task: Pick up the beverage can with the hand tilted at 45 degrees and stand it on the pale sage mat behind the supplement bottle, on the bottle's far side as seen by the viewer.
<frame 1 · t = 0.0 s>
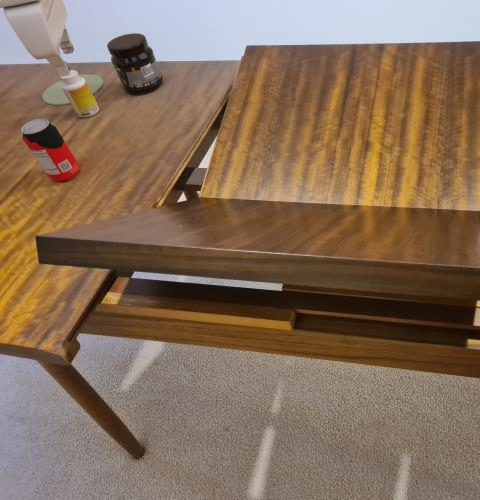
hand: (67, 62, 80), 23 cm above the table, tool pointing down, fingers open, 8 cm apart
supplement container: (145, 86, 122), on the table
supplement bottle: (89, 113, 115), on the table
beverage can: (67, 175, 98), on the table
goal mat: (73, 89, 124), on the table
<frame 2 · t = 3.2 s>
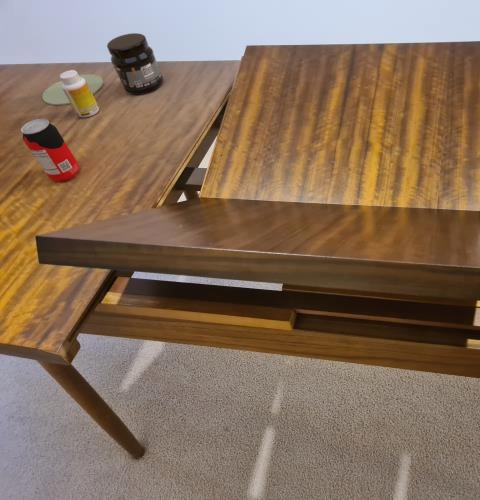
nothing on the table moved.
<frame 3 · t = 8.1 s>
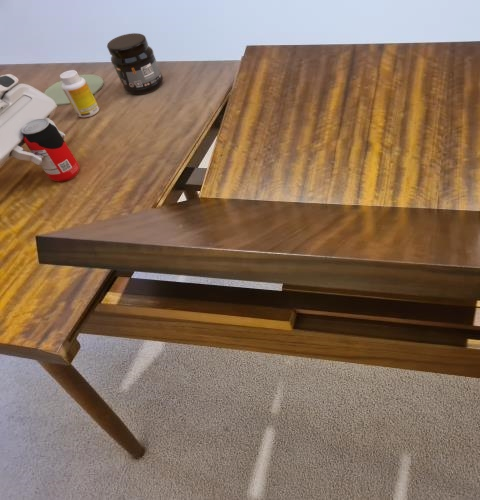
hand: (53, 149, 93), 6 cm above the table, tool tilted 45°, fingers closed on beverage can, 6 cm apart
beverage can: (67, 175, 98), on the table, touching gripper
everything else where it was.
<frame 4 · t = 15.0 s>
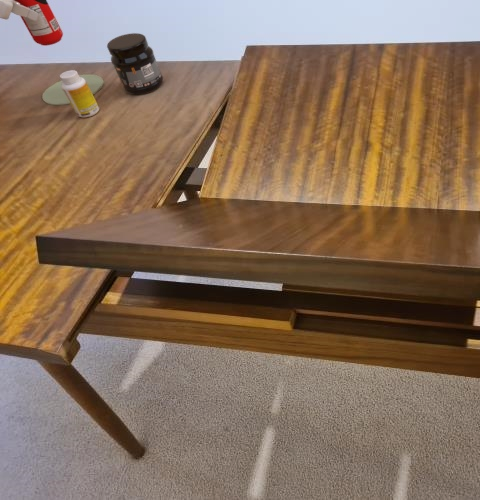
hand: (38, 11, 100), 23 cm above the table, tool tilted 45°, fingers closed on beverage can, 6 cm apart
beverage can: (51, 41, 105), point 17 cm above the table, touching gripper
everything else where it was.
when the fingers open (7 cm above the table, at t = 22.1 s): beverage can stays where it is, resting on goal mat.
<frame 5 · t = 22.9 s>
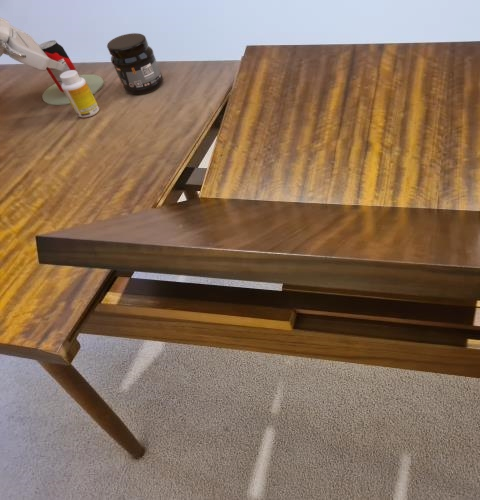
hand: (58, 61, 119), 8 cm above the table, tool tilted 45°, fingers open, 8 cm apart
beverage can: (74, 90, 123), point 1 cm above the table, touching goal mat, gripper
everything else where it was.
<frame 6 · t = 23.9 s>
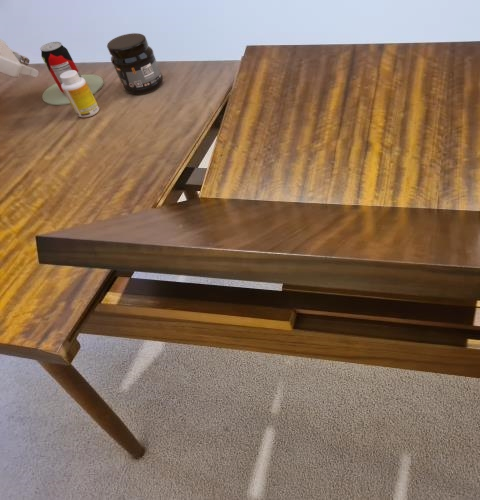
hand: (32, 67, 116), 8 cm above the table, tool tilted 45°, fingers open, 8 cm apart
beverage can: (75, 91, 123), resting on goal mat
everything else where it was.
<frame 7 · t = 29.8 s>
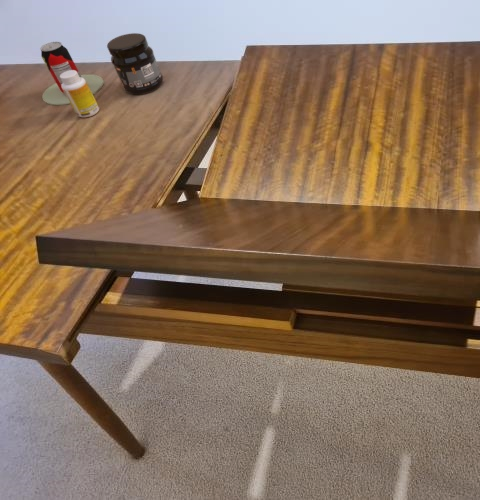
nothing on the table moved.
at the end: beverage can inside the target area on the table beside the supplement bottle (1.6 cm from its centre), resting on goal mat; beverage can 1.6 cm from the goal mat (horizontally); beverage can tilted 0° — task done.
